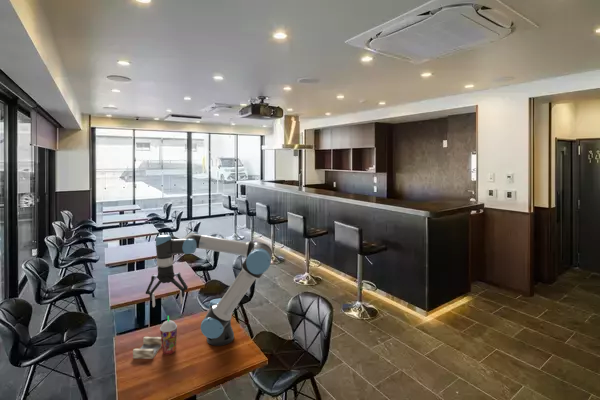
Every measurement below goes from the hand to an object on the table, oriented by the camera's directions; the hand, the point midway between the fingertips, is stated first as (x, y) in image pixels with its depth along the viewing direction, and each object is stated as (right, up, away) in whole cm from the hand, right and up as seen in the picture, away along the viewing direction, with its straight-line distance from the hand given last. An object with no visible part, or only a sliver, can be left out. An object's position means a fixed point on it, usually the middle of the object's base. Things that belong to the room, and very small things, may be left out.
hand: (168, 304), depth 175 cm
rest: (-12, -26, +3) cm, 29 cm away
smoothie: (-1, -26, +3) cm, 27 cm away
